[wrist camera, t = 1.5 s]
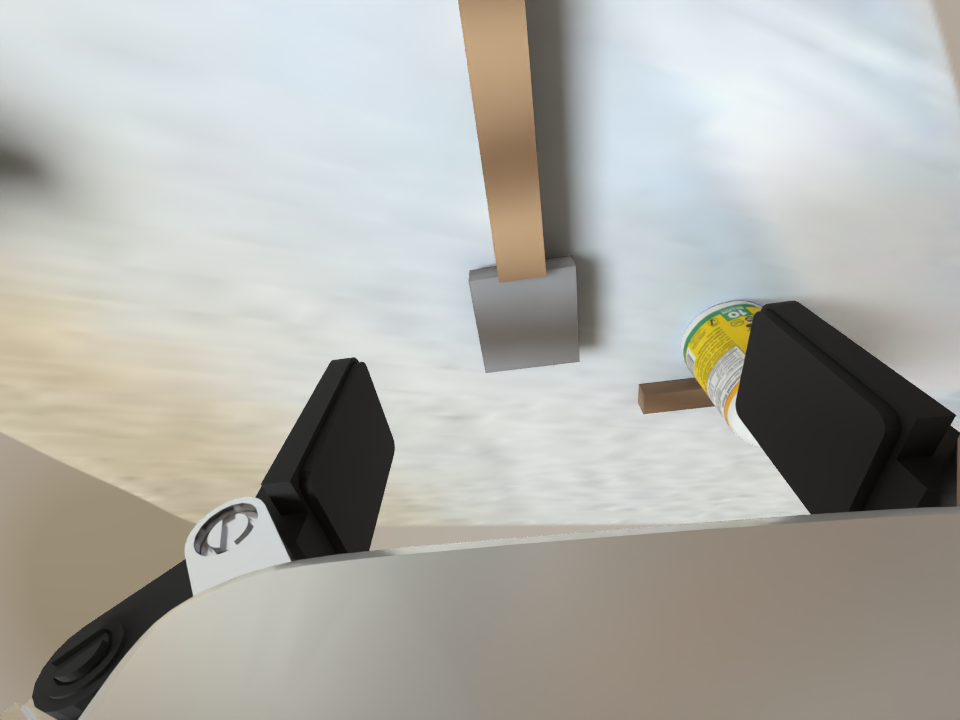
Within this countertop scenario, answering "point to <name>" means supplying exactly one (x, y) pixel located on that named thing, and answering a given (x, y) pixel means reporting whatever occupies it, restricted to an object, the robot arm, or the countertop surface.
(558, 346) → the turner
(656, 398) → the stop strip
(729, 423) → the supplement bottle
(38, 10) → the countertop surface
